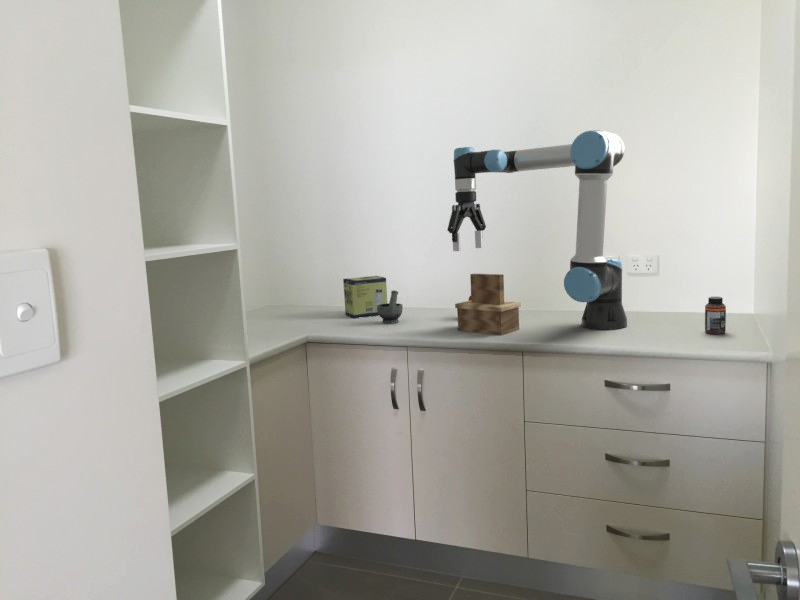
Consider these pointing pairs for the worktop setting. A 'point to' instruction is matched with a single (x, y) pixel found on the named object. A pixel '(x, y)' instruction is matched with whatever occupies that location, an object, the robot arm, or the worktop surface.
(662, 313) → the worktop surface
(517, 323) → the box
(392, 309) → the mortar and pestle
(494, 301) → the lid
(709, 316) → the supplement bottle
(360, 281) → the protein box
